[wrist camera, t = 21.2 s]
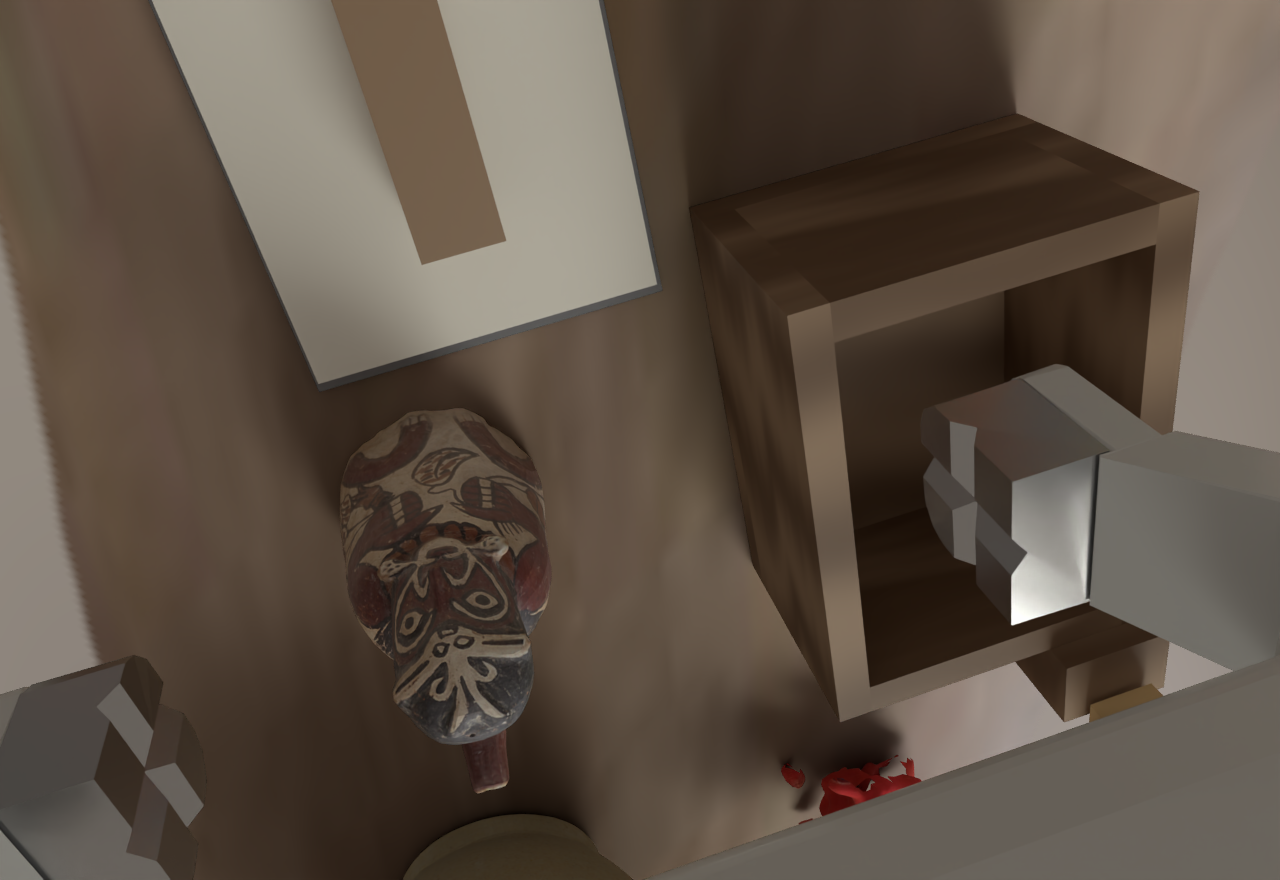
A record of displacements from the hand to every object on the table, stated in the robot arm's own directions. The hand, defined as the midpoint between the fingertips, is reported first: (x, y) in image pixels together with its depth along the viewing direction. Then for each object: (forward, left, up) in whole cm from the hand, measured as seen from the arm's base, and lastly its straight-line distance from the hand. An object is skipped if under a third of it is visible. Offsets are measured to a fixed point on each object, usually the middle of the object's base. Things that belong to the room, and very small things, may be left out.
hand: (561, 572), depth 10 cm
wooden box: (-15, -13, -24) cm, 31 cm away
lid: (0, 0, -23) cm, 23 cm away
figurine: (-14, +4, -24) cm, 28 cm away
